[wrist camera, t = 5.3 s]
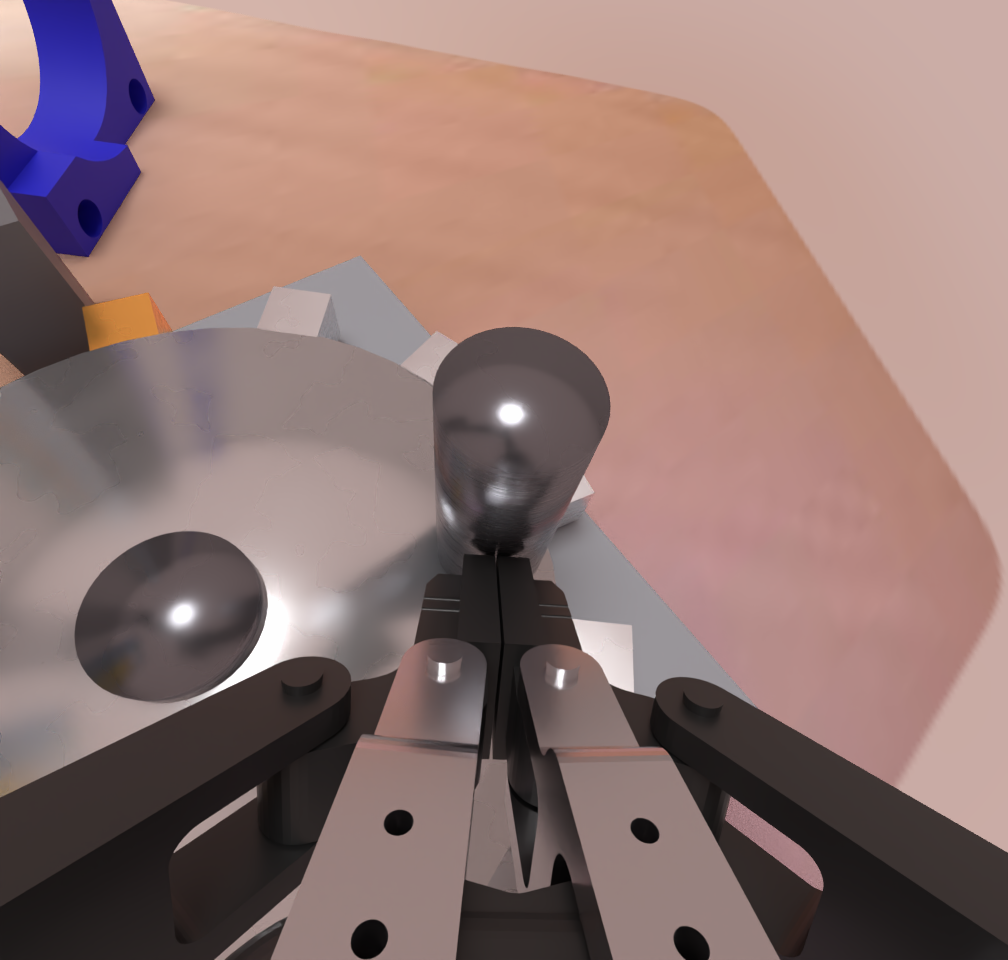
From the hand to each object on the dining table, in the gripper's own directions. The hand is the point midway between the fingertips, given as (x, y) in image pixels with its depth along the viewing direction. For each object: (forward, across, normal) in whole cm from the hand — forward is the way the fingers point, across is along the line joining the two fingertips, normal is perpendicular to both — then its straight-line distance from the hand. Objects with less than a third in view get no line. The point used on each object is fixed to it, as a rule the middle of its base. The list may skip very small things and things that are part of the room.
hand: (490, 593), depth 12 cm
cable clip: (+19, +20, -11) cm, 30 cm away
